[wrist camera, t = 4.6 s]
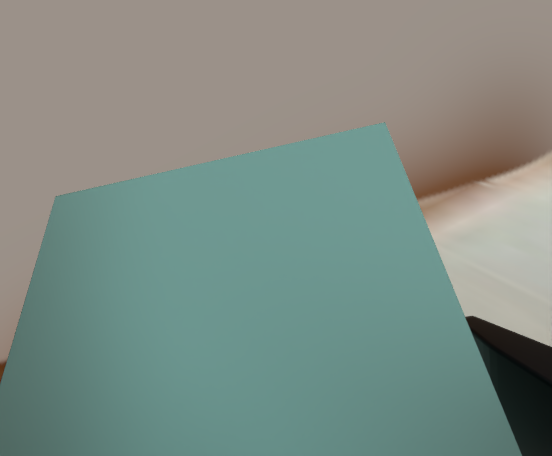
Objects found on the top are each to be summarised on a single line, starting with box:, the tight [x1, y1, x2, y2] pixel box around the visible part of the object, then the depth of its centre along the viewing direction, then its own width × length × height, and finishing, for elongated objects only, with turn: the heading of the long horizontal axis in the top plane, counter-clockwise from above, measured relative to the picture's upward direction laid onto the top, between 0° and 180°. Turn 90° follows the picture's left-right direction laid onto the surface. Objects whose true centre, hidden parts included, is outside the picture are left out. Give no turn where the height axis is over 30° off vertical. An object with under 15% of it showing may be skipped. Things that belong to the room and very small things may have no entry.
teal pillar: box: [0, 122, 522, 456], centre depth 9 cm, size 6×6×12 cm
